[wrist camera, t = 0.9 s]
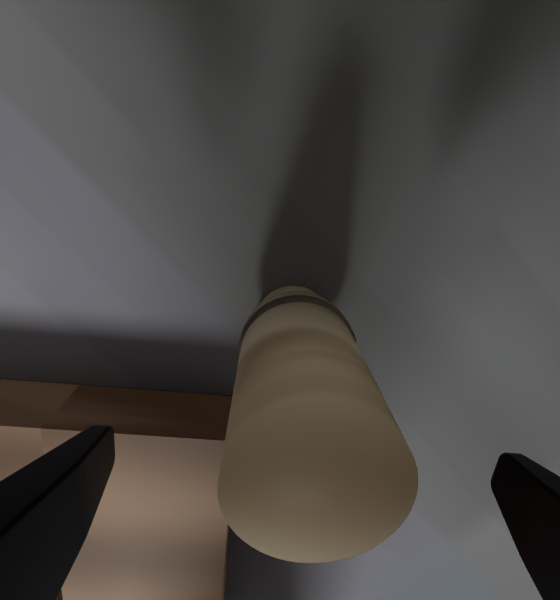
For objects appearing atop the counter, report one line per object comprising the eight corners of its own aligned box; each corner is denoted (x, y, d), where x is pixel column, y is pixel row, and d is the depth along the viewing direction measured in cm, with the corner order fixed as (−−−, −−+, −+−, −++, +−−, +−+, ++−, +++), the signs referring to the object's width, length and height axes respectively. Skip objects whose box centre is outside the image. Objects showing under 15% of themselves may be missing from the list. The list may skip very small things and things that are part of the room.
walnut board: (223, 600, 21) (216, 665, 19) (-137, 585, 20) (-203, 651, 17) (239, 396, 17) (233, 441, 14) (-222, 362, 16) (-330, 403, 13)
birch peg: (332, 366, 17) (398, 570, 8) (240, 359, 16) (209, 561, 8) (347, 278, 15) (444, 411, 7) (248, 269, 15) (218, 395, 6)
